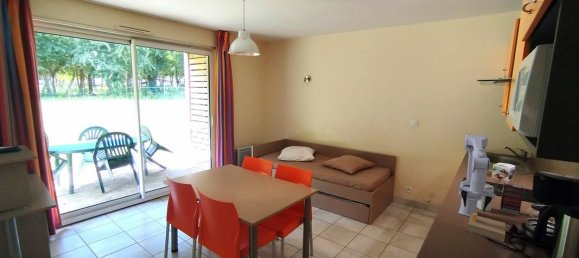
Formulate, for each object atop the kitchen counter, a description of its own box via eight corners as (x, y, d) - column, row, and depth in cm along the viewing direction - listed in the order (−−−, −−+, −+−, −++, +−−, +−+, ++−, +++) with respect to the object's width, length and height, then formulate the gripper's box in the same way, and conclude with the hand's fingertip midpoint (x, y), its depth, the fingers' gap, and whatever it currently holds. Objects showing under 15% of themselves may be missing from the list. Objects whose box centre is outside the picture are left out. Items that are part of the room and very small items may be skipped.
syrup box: (491, 211, 151) (495, 186, 149) (481, 210, 151) (485, 186, 149) (483, 206, 157) (487, 183, 155) (473, 206, 157) (477, 183, 154)
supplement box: (518, 212, 151) (523, 185, 148) (519, 215, 147) (524, 188, 144) (499, 208, 156) (503, 182, 153) (499, 211, 152) (503, 184, 149)
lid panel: (470, 215, 138) (471, 208, 138) (505, 224, 130) (506, 217, 129) (467, 225, 128) (468, 218, 127) (505, 235, 119) (506, 228, 118)
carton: (470, 220, 139) (470, 215, 138) (504, 230, 130) (505, 224, 130) (466, 231, 128) (467, 225, 128) (503, 242, 119) (504, 236, 119)
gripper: (459, 180, 129) (455, 206, 131) (496, 188, 120) (492, 216, 122) (461, 176, 135) (457, 202, 137) (497, 184, 125) (493, 210, 128)
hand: (474, 208), depth 130 cm, fingers open, 7 cm apart
